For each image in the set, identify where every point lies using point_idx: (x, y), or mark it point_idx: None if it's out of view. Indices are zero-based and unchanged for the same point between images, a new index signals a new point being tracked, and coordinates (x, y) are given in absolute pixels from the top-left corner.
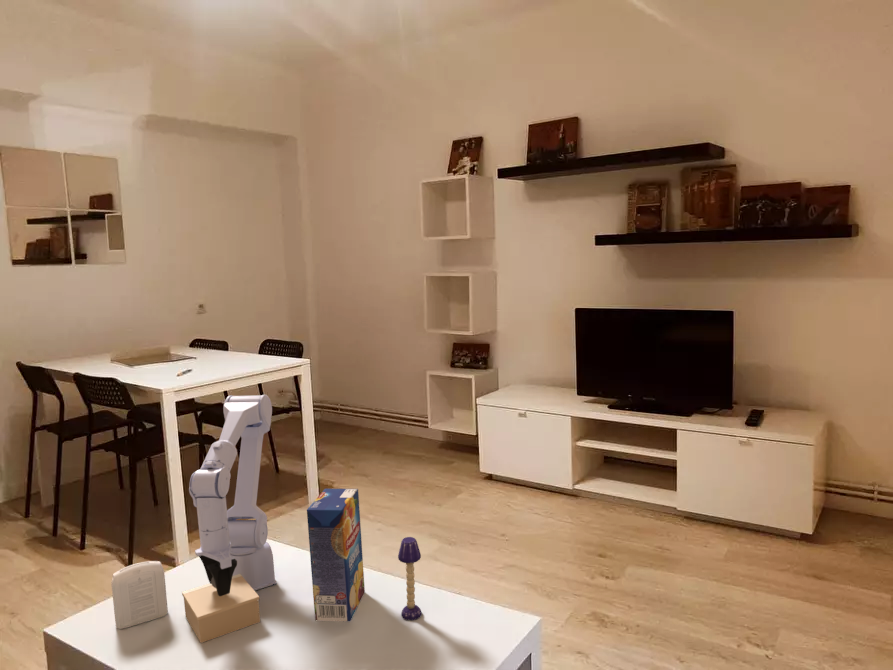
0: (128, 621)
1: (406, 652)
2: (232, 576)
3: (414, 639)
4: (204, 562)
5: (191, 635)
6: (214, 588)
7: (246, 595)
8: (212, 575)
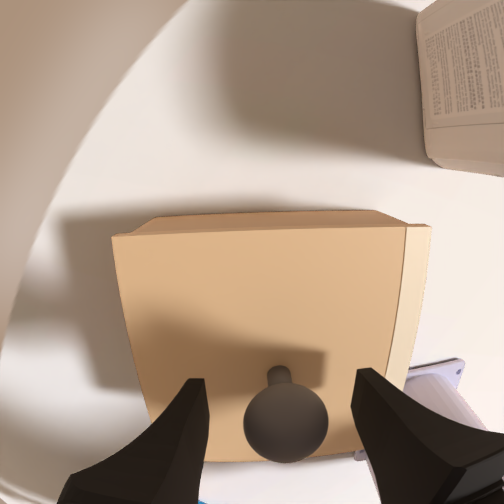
0: (424, 31)
1: (6, 469)
2: None
3: (31, 489)
4: (417, 446)
5: (229, 198)
6: (354, 363)
7: None
8: (158, 458)
